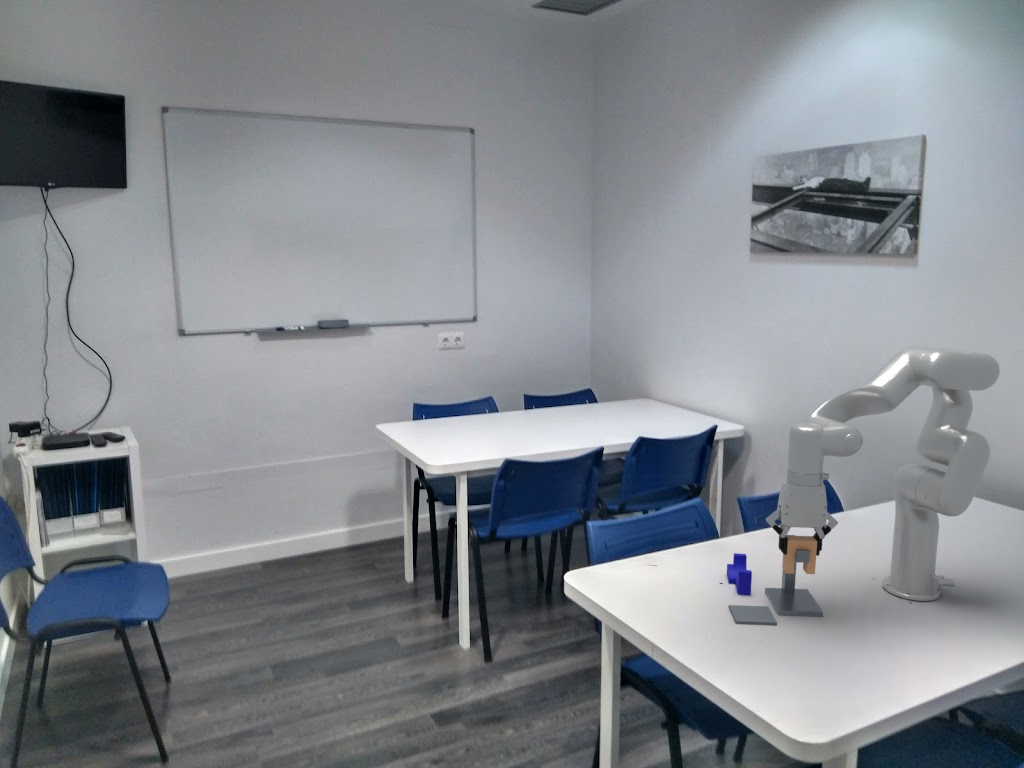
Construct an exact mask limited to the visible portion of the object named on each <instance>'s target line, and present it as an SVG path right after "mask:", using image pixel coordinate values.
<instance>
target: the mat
mask: <svg viewBox="0 0 1024 768" xmlns="http://www.w3.org/2000/svg"><path fill="white" fill-rule="evenodd" d="M728 608H729V609H728V610H729V611H730V614H731V616H732V618H733V621H734V623H735V624H737V625H758V626H759V625H762V626H765V625H766V626H777V625H778V622H777V619H776V618H775V617H774V615H773V612H772V611H771V609H770V608H769V606H768V605H767V606H765V605H762V606H761V605H740V604H739V605H737V604H728Z"/></svg>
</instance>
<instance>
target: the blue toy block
mask: <svg viewBox="0 0 1024 768" xmlns="http://www.w3.org/2000/svg"><path fill="white" fill-rule="evenodd" d="M747 558H748V557H747V554H745V553H733V558H732V559H733V561H732V563H733V564H732V563H727V564H726V576H727V583H728V584H729V585H735V589H737V590H736V593H737V595H738V596H749V597H751V596H752V595H751V593H752V579H753V578H752V577H753V572H752V569H747Z"/></svg>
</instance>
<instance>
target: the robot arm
mask: <svg viewBox="0 0 1024 768" xmlns="http://www.w3.org/2000/svg"><path fill="white" fill-rule="evenodd" d="M1000 369H1001V368H1000V365H999V362H998V360H997V359H995V358H994V357H993V356H992V355H990V354H987V353H982V352H974V351H968V350H962V349H961V350H960V349H953V348H929V347H924V346H908V347H904V348H902V349H901V350H900V351H899V352H897V353H896V354H895V355H894V356H893V357H892V358H890V359H889V360H888V361H887V362H886V364H884V365H883V366H882V367H881V368H880V369H879V370H878V371H876V372H875V374H874V375H872V377H870V378H869V379H868V380H867V381H866V382H864V383H862V384H861V385H858V386H856V387H853V388H851V389H849V390H847V391H844V392H842V393H839V394H837V395H835V396H833V397H831V398H829V399H828V400H826V401H825V402H823V403H821V405H820V406H818V407H817V408H816V409H815V410H814V411H813V412H812V413H811V414H810V415H809V416H808V418H807V419H806V420H805V422H798V423H794V424H792V425H791V426H790V428H789V438H788V455H787V468H786V469H787V470H786V480H783V481H782V483H781V487H780V489H779V495H778V502H777V508H776V510H774V511H773V512H772V513H771V514H770V515H768V516H767V517H766V518H765V521H766V523H767V524H768V525H769V526H770V527H771V528H772V529H773V530H774V531H775V533H777V534H778V550H779V551H781V553H782V555H783V554H784V555H786V554H787V546H788V538H787V535H788V533H789V531H790V529H791V528H807V529H808V528H809V529H812V528H813V530H814V532H815V534H813V535H812V536H813V537H814V538H815V539H816V540H817V552H816V557H817V556H818V557H819V556H820V552H822V549H823V539H825V537H826V536H827V535H828V534H829V533H830V532H832V529H835V528H836V526H837V525H839V522H838V521H837V519H836V518H835V517H834V516H833V515H832V514H830V512H828V502H827V491H826V484H824V481H825V480H829V479H830V474H829V473H827V472H824V464H825V463H824V460H825V457H836V458H837V457H839V458H846V457H847V458H848V457H851V456H853V455H856V454H857V453H859V451H860V450H861V448H862V447H863V443H864V442H863V441H864V438H863V434H862V433H861V432H860V430H859V429H858V428H857V427H856V426H853V425H851V424H848V423H846V422H848V421H850V420H853V419H856V418H861V417H867V416H873V415H874V416H876V415H880V414H885V413H889V412H893V411H894V410H896V408H897V407H898V406H900V405H901V403H903V402H904V401H905V400H906V398H908V397H909V396H911V394H912V393H914V391H915V390H917V388H919V387H920V386H926V387H931V388H932V393H933V396H932V404H931V407H930V409H929V412H928V414H927V417H926V419H925V422H924V423H923V426H922V428H921V430H920V433H919V436H918V439H917V442H916V452H917V454H918V455H919V456H920V457H921V458H922V459H925V460H926V461H929V462H932V463H934V464H938V465H941V466H944V467H947V468H946V471H943V470H940V469H937V468H934V467H931V466H928V465H924V464H921V463H920V464H919V463H908V464H904V465H902V466H901V467H900V468H898V470H897V471H896V473H895V474H894V478H893V484H892V485H893V495H894V503H895V505H894V506H895V509H894V510H895V512H894V513H895V514H894V515H895V516H894V526H893V527H894V528H893V536H892V537H893V538H892V551H891V562H890V573H889V574H890V576H887V577H885V578H883V580H882V584H881V585H882V588H883V589H884V590H885V591H886V592H888V593H890V594H891V595H894V596H897V597H899V598H902V599H907V600H910V601H911V600H912V601H919V602H929V601H935V600H937V599H939V598H940V596H941V589H940V588H943V587H948V588H949V587H950V588H951V587H952V588H954V587H956V580H955V579H954V578H945V576H944V575H942V574H941V575H939V574H938V575H936V574H935V573H936V567H937V566H936V565H937V555H938V554H937V553H938V543H939V534H940V533H939V532H940V519H939V514H940V515H943V516H946V517H950V518H951V517H958V516H961V515H962V514H964V513H965V512H966V511H967V509H968V508H969V507H970V505H971V503H972V501H973V500H974V497H975V495H976V492H977V490H978V488H979V486H980V483H981V480H982V479H983V476H984V474H985V471H986V470H987V466H988V464H989V460H990V456H991V451H990V449H991V448H990V444H989V442H988V440H987V439H986V438H985V436H984V435H982V434H981V433H978V432H977V431H973V430H969V429H967V428H968V425H969V422H970V420H971V417H972V414H973V407H974V405H973V399H972V396H971V393H970V391H972V392H973V391H977V392H980V391H985V390H987V389H990V388H991V387H993V386H994V385H995V384H996V383H997V381H998V379H999V377H1000ZM777 520H778V521H781V523H780V526H779V525H778V524H777V523H776V521H777ZM827 520H828V522H827Z"/></svg>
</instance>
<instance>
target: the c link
mask: <svg viewBox="0 0 1024 768" xmlns="http://www.w3.org/2000/svg"><path fill="white" fill-rule="evenodd" d="M788 535H789V534H787V538H788V546H787V554H786V555H784V554H783V553H782V567H781V569H782V571H783V570H784V571H785V573H791V574H794V563H795V551H796V549H801V550H810V561H809V563H803V564H802V570H803V572H805V574H806V575H815V574H816V564H817V561H816V560H817V555H816V552H817V540H816V539H815V538H814V537H813V535H811V536H810V535H795V536H788Z"/></svg>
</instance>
